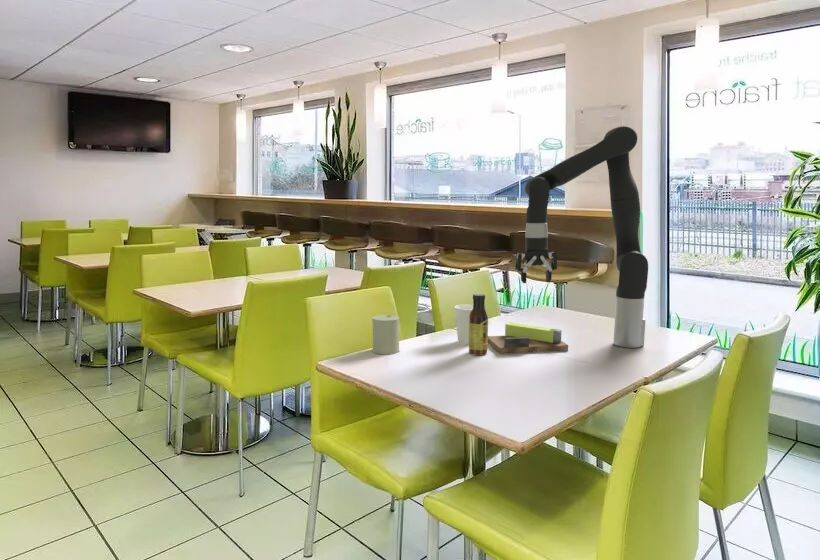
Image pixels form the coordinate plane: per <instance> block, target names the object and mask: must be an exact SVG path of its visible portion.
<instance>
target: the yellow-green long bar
mask: <svg viewBox="0 0 820 560" xmlns="http://www.w3.org/2000/svg"><path fill="white" fill-rule="evenodd" d="M504 326H505V327H504V328H505V329H504V331H505V332H504V336H513V337H528V338H529V339H532V340H538V341H544V342H551V343H561V341H562V329H559V328H553V327H552V328H551V327H545V326H538V325H537V326H536V325H531V324H524V323H517V322H510V321H509V322H508V323H506V324H505V325H504Z"/></svg>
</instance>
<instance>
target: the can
mask: <svg viewBox="0 0 820 560" xmlns="http://www.w3.org/2000/svg"><path fill="white" fill-rule="evenodd" d="M371 319H372V321H371V322H372V350H371V351H372V353H374V354H376V355H377V354H378V355H394V354H398V353H400V317H399V316H398V315H393V314H378V315H375V316H373V317H371Z"/></svg>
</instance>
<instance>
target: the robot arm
mask: <svg viewBox="0 0 820 560" xmlns="http://www.w3.org/2000/svg"><path fill="white" fill-rule="evenodd" d="M637 143H638V134H637V131H636V130H635V129H634V128H632V127H630V126H627V125H626V126H625V125H620V126H617V127H615V128H612V129H610V130H608V131H607V132H606V134H605V135H604V137H603V139H602V140H600V141H599V142H598V143H596V144H594V145H593V146H591V147H589V148H586V149H585V150H583V151H581V152H579V153H576V154H574V155H573V156H570V157H568V158H566V159H565V160H563V161H561V162H559V163H557V164H555V165H554V166H552V167H551V168H549V169H548V170H546V171H544V172H541V173H539V174H537V175H536V176H534V177H532V178H530V179H529V180H528V181H527V182H526V184H525V186H524V191H525V193H526V195H527V196H528V207H527V208H526V216H525V217H526V218H525V219H526V221H525V222H526V223H525V224H526V226H525V235H524V236H525V246H524V247H525V251H524V253H519V252H517V253H516V255H515V265H514V266H515V270H516V271H518V272H520V281H521V283H522V284H527V271H528V269H530V268H531V266H542V267H544V269H545V282H547V283H550V282H551V281H552V279H553V278H552V272H553V271H554V270H557V269H558V258H557V255H558V253H557V252H555V251H551V252H548V248H549V247H548V246H549V245H548V242H549V241H548V240H549V239H548V238H549V229H548V228H549V227H548V205H549V200H550V192H551V190H552V191H553V190H554V189H555V188H557V187H561V186H563V185H566V184H567V183H569V182H571V181H573V180H575V179H576V178H578V177H579V176H581V175H582V174H584V173H586V172H588V171H589V170H591V169H593V168H595V167H596V166H598V165H600V164H602V163H604V162H606V165H607V173H608V184H609V195H610V197H609V200H610V208H611V216H612V223H613V228H614V232H615V239H616V263H615V264H616V268H617V270H618V286H617V288H616V290H615V293H616V294H615V307H614V308H615V310H614V314H615V315H614V327H613V328H614V329H613V345H615V346H618V347H622V348H629V349H632V348H633V349H635V348H641V347H644V346H645V336H646V335H645V334H646V319H645V318H644V309H645V296H646V295H645V294H646V291H647V287H648V276H649V261H648V259H647V257H646V256H645V255H644V254H643V253H642V252H641V251H642V250H641V245H640V241H639V226H640V219H641V203H640V193H639V189H638V186H637V183H636V181H635V179H634V176H633V174H632V170H631V168H630V167H631V166H630V154H629V153H630V152H631V151H632V150H634V149H635V147H636V146H637ZM548 258H549V259H550V263H549V262H548V261H547V259H548ZM524 259H525V261H524V263H523V265H522V260H524Z"/></svg>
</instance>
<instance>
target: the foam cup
mask: <svg viewBox="0 0 820 560" xmlns="http://www.w3.org/2000/svg"><path fill="white" fill-rule="evenodd" d="M472 309H473V304H457V305H455V306H454V311H453V314H454V317H455V324H456V326H455V327H456V334H457V342H458V344H460V345H462V346H463V345H465V346H469V322H470V317H469V316H470V313H471V311H472Z"/></svg>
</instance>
